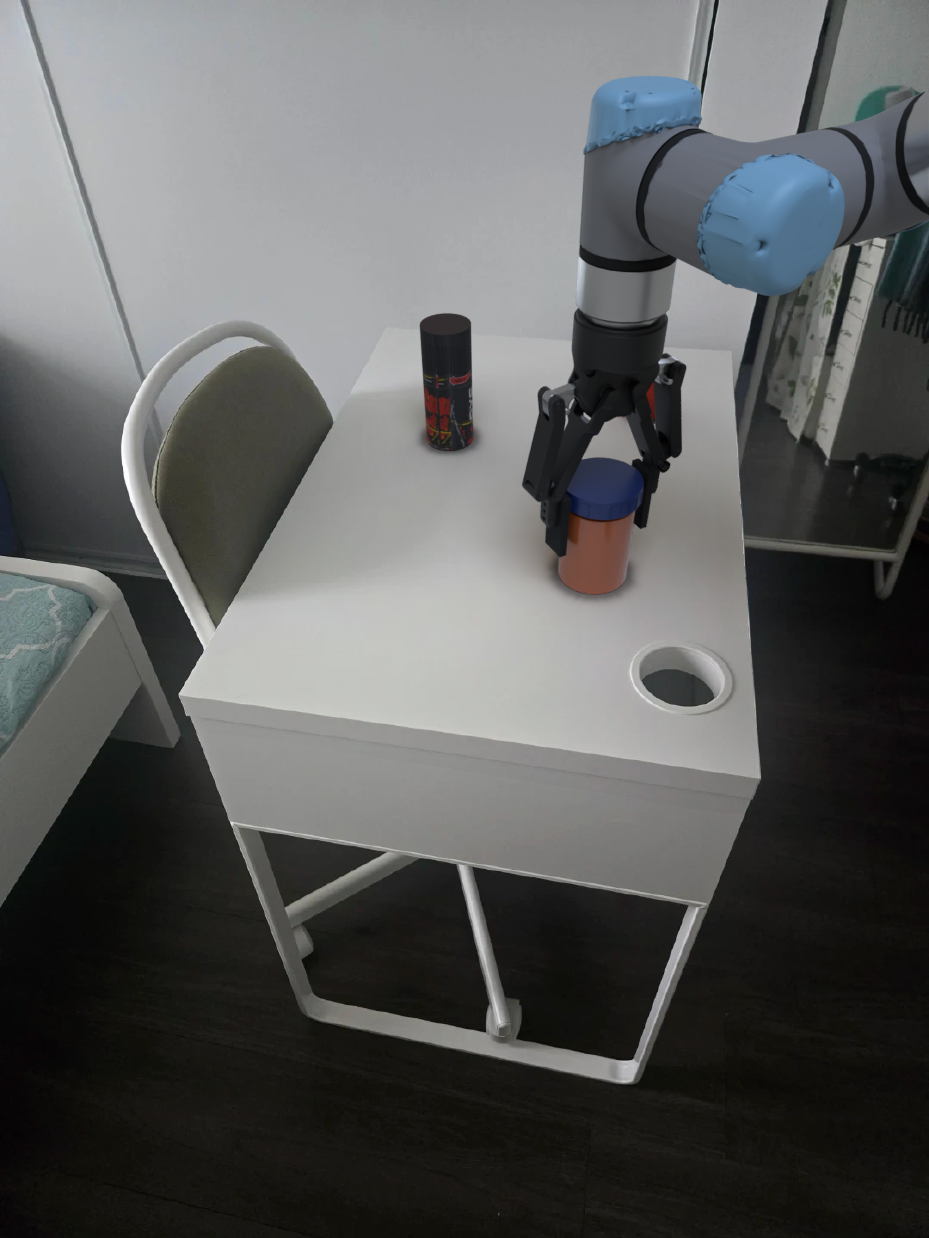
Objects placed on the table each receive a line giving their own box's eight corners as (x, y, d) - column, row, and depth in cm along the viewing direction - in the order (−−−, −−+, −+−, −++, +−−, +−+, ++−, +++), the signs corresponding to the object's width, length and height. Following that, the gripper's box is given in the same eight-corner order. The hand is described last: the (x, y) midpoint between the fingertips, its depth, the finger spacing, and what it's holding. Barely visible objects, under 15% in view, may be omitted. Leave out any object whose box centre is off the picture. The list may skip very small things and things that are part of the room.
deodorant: (425, 428, 105) (418, 314, 95) (471, 425, 106) (468, 311, 95) (428, 452, 101) (420, 336, 91) (475, 449, 101) (473, 333, 91)
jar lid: (548, 480, 79) (549, 463, 78) (623, 468, 80) (625, 451, 79) (574, 526, 74) (576, 509, 72) (654, 513, 75) (657, 496, 74)
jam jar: (615, 547, 86) (627, 462, 79) (634, 590, 81) (648, 504, 74) (551, 554, 86) (557, 469, 79) (566, 598, 81) (573, 511, 74)
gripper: (699, 269, 71) (661, 486, 86) (480, 320, 64) (482, 546, 79) (758, 299, 66) (707, 523, 81) (528, 358, 59) (520, 590, 74)
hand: (596, 534), depth 80 cm, fingers open, 9 cm apart
